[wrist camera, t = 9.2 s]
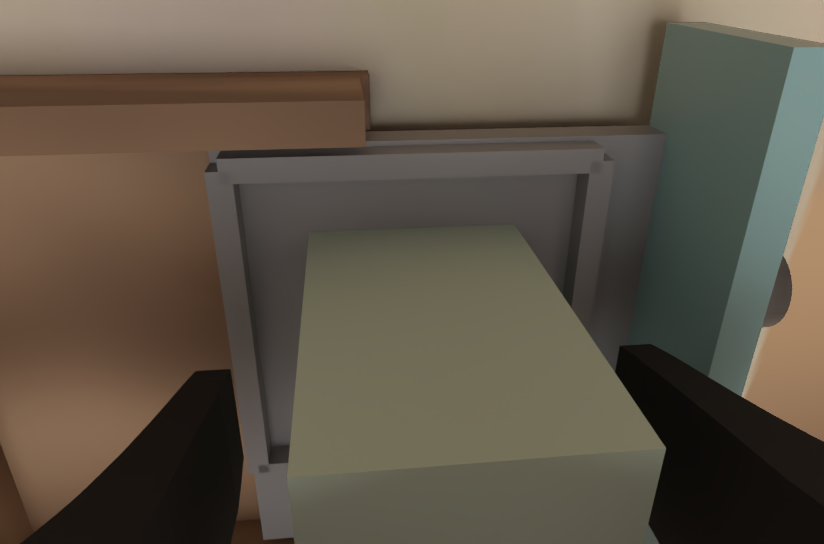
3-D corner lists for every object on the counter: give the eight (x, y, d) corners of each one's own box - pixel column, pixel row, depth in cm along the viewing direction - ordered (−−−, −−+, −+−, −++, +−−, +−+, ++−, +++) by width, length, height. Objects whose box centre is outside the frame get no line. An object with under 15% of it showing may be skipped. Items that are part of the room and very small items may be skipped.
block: (500, 389, 16) (612, 675, 9) (321, 400, 15) (313, 709, 9) (514, 223, 14) (666, 448, 7) (308, 231, 13) (287, 478, 7)
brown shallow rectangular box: (379, 513, 19) (386, 606, 16) (33, 542, 18) (-21, 646, 15) (367, 70, 13) (376, 99, 11) (-141, 77, 12) (-277, 112, 10)
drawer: (639, 534, 20) (706, 661, 16) (273, 567, 19) (259, 712, 15) (758, 21, 13) (917, 45, 10) (198, 24, 12) (142, 53, 8)
